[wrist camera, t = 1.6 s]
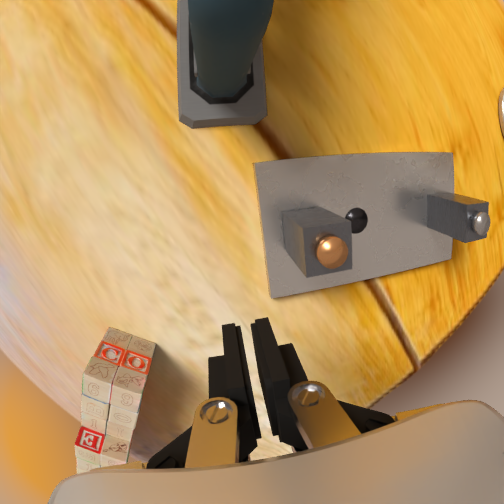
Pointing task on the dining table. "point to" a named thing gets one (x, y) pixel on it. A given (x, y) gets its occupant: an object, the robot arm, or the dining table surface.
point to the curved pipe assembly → (221, 61)
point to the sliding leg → (318, 241)
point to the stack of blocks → (112, 399)
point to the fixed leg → (458, 216)
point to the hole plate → (355, 212)
